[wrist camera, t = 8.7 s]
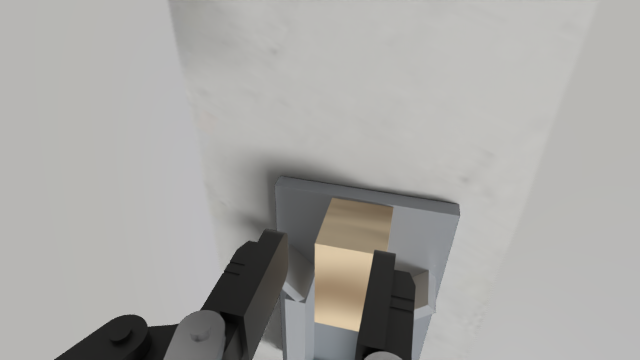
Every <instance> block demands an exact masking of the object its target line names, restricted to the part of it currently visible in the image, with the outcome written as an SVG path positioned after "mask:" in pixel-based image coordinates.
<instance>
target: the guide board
mask: <svg viewBox="0 0 640 360" xmlns="http://www.w3.org/2000/svg"><path fill="white" fill-rule="evenodd" d="M332 198H338V199H344V200H351V201H357V202H364V203H370V204H376V205H383V206H389V207H394V208H393V215H392V222H391V229H390V235H389V242H388V249H387V252H391V253H396V259H395V267H394V270H399V271H404V272H409V273H410V274H411V276H412V279H413V281H414V283H415V286H416V290H415V307H414V324H413V342H412V360H419V358H420V354H421V351H422V347H423V344H424V340H425V337H426V333H427V330H428V326H429V323H430V319H431V316H432V314H433V313H436V298H437V295H438V291H439V288H440V284H441V281H442V277H443V274H444V270H445V267H446V263H447V260H448V256H449V253H450V249H451V246H452V242H453V239H454V235H455V232H456V228H457V225H458V221H459V218H460V209H459V204H452V203H446V202H440V201H434V200H427V199H421V198H415V197H409V196H402V195H396V194H390V193H384V192H377V191H371V190H365V189H359V188H352V187H346V186H340V185H334V184H327V183H321V182H315V181H308V180H302V179H296V178H290V177H283V176H280V177H279V179H278V181H277V182H276V184H275V203H276V224H277V231H280V232H285V233H287V235H288V262H289V265H288V272H287V277H286V280H285V283H284V285H283V287H282V290H281V292H280V306H281V326H282V347H283V360H355V352H356V344H357V339H358V333H359V332H358V331H353V330H349V329H344V328H340V327H335V326H330V325H326V324H321V323H317V322H314V314H315V242H316V239H317V236H318V234H319V231H320V228H321V226H322V223H323V221H324V218H325V215H326V213H327V210H328V207H329V205H330V202H331V199H332Z"/></svg>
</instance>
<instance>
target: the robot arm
mask: <svg viewBox="0 0 640 360" xmlns="http://www.w3.org/2000/svg"><path fill="white" fill-rule="evenodd" d="M395 259H396V253H391V252H385V251H380V250H374V254H373V260H372V265H371V270H370V275H369V281H368V286H367V291H366V296H365V302H364V307H363V312H362V318H361V323H360V328H359V333H358V339H357V344H356V352H355V360H412V342H413V324H414V307H415V290H416V286H415V283H414V281H413V279H412V276H411V274H410V273H409V272H404V271H399V270H394V267H395ZM288 265H289V262H288V235H287V233H285V232H280V231H275V230H269V229H266V230H264V232H263V234H262V235H261V237H260V239H259V241H258V243H257V242H252V241H248V242H246V243H245V244H244V245H243V246H241V247H240V248H239V249H237V250H236V252H235V254H234V255H233V257H232V259H231V260H230V263H229V264H228V265H227V267H226V269H225V270H224V273H223V274H222V275H221V277H220V279H219V280H218V282H217V284H216V285H215V287H214V288H213V290H212V292H211V294H210V295H209V297H208V299H207V300H206V302H205V303H204V305H203V307H202V308H201V310H200V311H196V312H194V313H191V314H190V315H188V316H186V317H185V318H184V319H183V320H182V321H181V322H180V323H179V324H175V325H165V326H151V327H148V326H147V323H146V322H145V320H144V319H143V318H142V317H140V316H137V315H123V316H119V317H117V318H115V319H112V320H111V321H110V322H108V323H106V324H105V325H103V326H102V327H100V328H99V329H98V330H96V331H95V332H93V333H92V334H91V335H89V336H88V337H86V338H85V339H83V340H82V341H80V342H79V343H77V344H76V345H75V346H73V347H72V348H70V349H69V350H67V351H66V352H65V353H63V354H62V355H60V356H59V357H57V358H56V359H54V360H252V359H253V356H254V354H255V352H256V349H257V347H258V345H259V342H260V340H261V337H262V335H263V333H264V330H265V328H266V325H267V323H268V321H269V318H270V316H271V314H272V311H273V309H274V306H275V304H276V302H277V299H278V297H279V295H280V292H281V290H282V287H283V285H284V283H285V280H286V277H287V272H288Z"/></svg>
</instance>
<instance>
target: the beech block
mask: <svg viewBox="0 0 640 360" xmlns="http://www.w3.org/2000/svg"><path fill="white" fill-rule="evenodd" d="M393 208H394V207H389V206H383V205H376V204H370V203H364V202H357V201H351V200H344V199H338V198H332V199H331V202H330V205H329V207H328V210H327V213H326V215H325V218H324V221H323V223H322V226H321V228H320V231H319V234H318V236H317V239H316V242H315V314H314V322H317V323H321V324H326V325H330V326H335V327H340V328H344V329H349V330H353V331H358V332H359V328H360V323H361V318H362V312H363V307H364V302H365V296H366V291H367V286H368V281H369V275H370V270H371V265H372V260H373V254H374V250H380V251H385V252H387V249H388V242H389V235H390V229H391V222H392V215H393Z"/></svg>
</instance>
